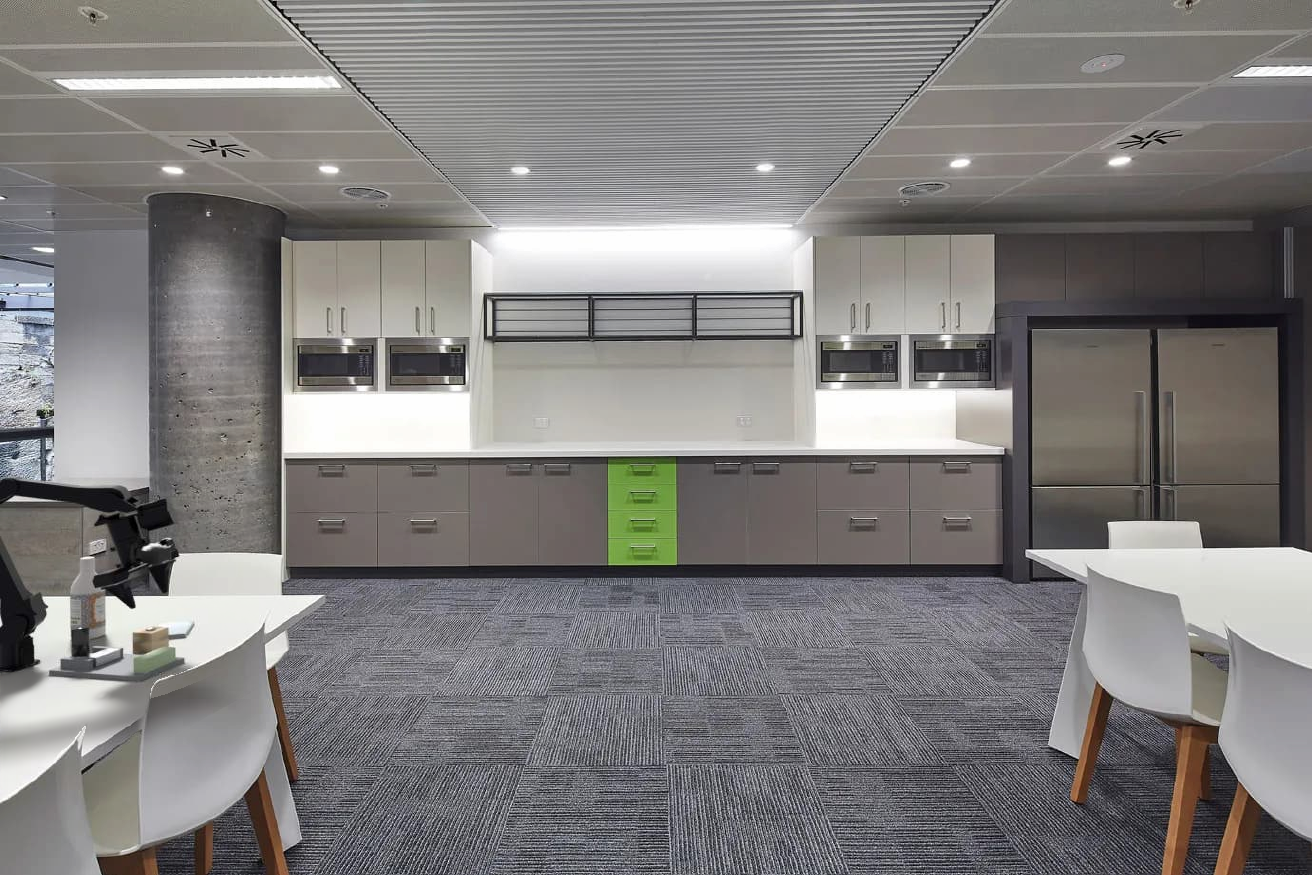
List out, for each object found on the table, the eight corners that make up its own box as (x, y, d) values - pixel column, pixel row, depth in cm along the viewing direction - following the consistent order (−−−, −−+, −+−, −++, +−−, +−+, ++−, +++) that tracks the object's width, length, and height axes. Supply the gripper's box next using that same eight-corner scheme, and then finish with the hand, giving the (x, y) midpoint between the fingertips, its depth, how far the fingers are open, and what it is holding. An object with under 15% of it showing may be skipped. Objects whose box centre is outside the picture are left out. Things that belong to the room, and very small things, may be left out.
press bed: (48, 674, 156) (48, 656, 155) (98, 656, 168) (98, 639, 167) (140, 681, 153) (140, 662, 153) (184, 661, 165) (184, 644, 165)
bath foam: (92, 641, 178) (91, 560, 177) (63, 640, 178) (62, 560, 177) (112, 632, 185) (111, 555, 184) (84, 632, 185) (83, 554, 184)
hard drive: (185, 633, 182) (194, 619, 193) (146, 636, 179) (157, 622, 190) (185, 639, 182) (194, 625, 193) (146, 643, 179) (157, 629, 190)
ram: (61, 664, 159) (61, 631, 158) (86, 655, 164) (86, 623, 164) (96, 666, 157) (96, 633, 157) (120, 657, 163) (119, 625, 163)
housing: (132, 653, 170) (132, 630, 170) (150, 646, 175) (150, 624, 175) (151, 654, 170) (151, 632, 169) (168, 647, 175) (168, 625, 174)
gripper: (121, 544, 157) (146, 610, 159) (187, 519, 175) (208, 579, 177) (79, 554, 159) (104, 619, 161) (148, 528, 177) (170, 587, 179)
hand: (149, 600), depth 170 cm, fingers open, 9 cm apart
